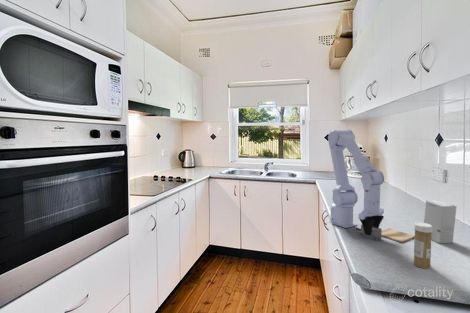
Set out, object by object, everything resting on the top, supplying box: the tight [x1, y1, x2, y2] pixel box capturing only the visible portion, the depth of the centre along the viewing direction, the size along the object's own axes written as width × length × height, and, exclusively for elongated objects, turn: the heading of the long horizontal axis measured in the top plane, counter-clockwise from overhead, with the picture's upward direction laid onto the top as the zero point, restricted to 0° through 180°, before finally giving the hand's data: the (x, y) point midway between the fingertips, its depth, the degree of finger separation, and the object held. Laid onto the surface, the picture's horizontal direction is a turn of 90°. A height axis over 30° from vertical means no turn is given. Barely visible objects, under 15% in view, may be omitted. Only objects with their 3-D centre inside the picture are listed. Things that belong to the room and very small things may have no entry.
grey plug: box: [355, 224, 383, 241], centre depth 106 cm, size 10×4×4 cm, turn 32°
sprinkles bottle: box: [413, 221, 432, 270], centre depth 82 cm, size 5×5×13 cm
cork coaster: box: [381, 228, 415, 244], centre depth 106 cm, size 10×10×1 cm
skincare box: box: [423, 199, 457, 244], centre depth 101 cm, size 8×6×15 cm
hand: (370, 233), depth 105 cm, fingers closed on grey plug, 4 cm apart
